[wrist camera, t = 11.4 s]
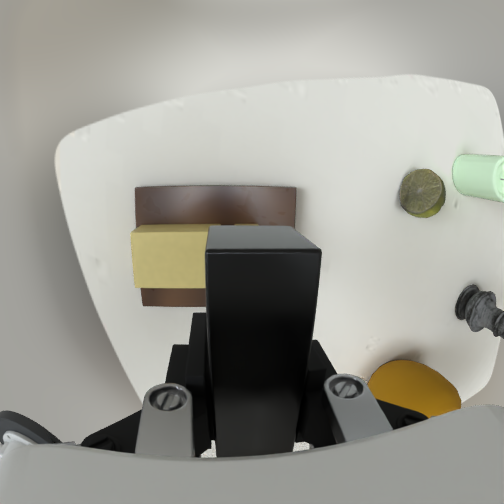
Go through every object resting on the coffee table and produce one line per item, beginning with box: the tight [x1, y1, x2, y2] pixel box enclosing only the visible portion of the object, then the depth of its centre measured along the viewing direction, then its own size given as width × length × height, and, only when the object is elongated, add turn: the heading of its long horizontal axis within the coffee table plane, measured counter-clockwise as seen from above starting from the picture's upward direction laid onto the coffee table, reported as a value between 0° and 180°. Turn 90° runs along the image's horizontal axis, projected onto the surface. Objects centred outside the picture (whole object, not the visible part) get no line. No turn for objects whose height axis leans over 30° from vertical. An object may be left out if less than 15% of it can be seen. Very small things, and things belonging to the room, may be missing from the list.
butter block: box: [130, 224, 221, 288], centre depth 24 cm, size 7×4×4 cm, turn 89°
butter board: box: [135, 185, 296, 307], centre depth 26 cm, size 14×11×1 cm
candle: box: [453, 154, 504, 203], centre depth 24 cm, size 5×5×8 cm
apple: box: [367, 360, 461, 419], centre depth 28 cm, size 11×11×13 cm
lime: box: [400, 169, 446, 218], centre depth 25 cm, size 4×5×5 cm
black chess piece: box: [455, 285, 504, 339], centre depth 27 cm, size 6×6×12 cm
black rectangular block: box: [205, 225, 322, 458], centre depth 11 cm, size 2×10×8 cm, turn 179°
